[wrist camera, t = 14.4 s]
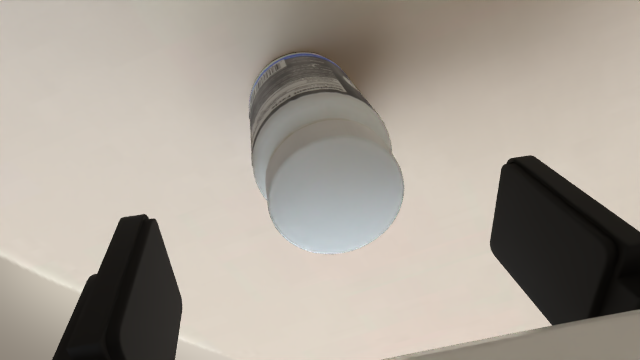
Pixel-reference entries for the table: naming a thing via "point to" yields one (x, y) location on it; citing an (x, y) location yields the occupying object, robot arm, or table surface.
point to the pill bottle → (321, 156)
